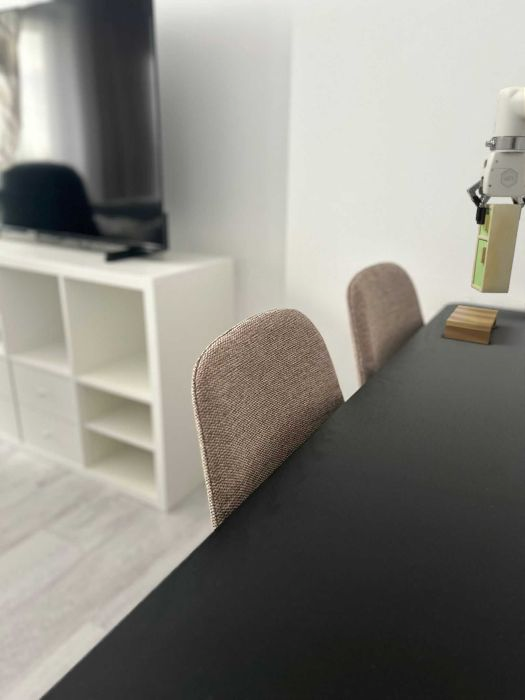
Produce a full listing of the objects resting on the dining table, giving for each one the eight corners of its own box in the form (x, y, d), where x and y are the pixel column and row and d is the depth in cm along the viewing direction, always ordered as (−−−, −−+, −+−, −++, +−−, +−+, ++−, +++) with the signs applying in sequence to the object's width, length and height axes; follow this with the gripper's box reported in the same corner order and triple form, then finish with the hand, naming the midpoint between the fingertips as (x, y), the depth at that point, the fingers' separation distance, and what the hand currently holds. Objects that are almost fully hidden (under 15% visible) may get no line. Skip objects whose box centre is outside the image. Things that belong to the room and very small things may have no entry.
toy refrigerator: (466, 286, 133) (478, 203, 127) (495, 287, 133) (508, 203, 126) (478, 293, 126) (491, 204, 119) (508, 293, 126) (523, 204, 119)
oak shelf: (456, 320, 127) (458, 305, 125) (495, 326, 122) (498, 310, 121) (444, 337, 113) (446, 320, 112) (487, 344, 109) (491, 326, 108)
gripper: (477, 145, 115) (466, 225, 121) (554, 145, 115) (540, 226, 121) (464, 146, 122) (455, 223, 128) (537, 147, 122) (524, 223, 128)
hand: (496, 224), depth 124 cm, fingers closed on toy refrigerator, 7 cm apart
